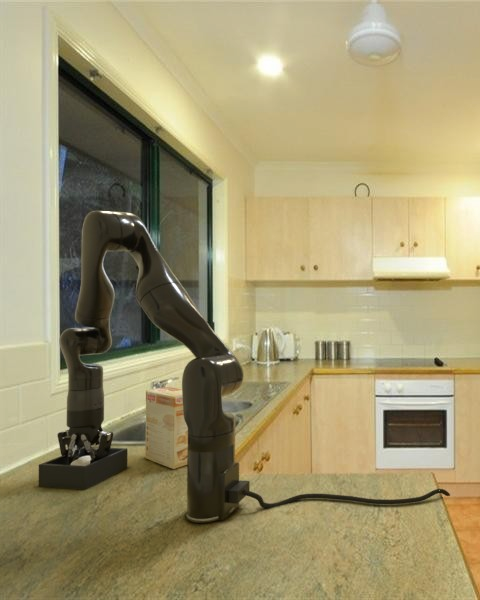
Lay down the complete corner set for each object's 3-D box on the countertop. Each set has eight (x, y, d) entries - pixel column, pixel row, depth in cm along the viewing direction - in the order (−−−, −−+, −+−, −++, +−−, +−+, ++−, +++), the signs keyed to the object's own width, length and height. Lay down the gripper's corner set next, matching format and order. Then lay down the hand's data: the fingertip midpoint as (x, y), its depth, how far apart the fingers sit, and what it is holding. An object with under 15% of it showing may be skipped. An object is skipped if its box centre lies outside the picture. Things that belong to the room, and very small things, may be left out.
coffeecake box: (198, 461, 112) (199, 391, 113) (172, 470, 106) (173, 396, 107) (169, 450, 120) (170, 385, 121) (144, 458, 114) (144, 390, 115)
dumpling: (90, 468, 106) (95, 453, 107) (102, 475, 104) (107, 460, 105) (60, 474, 100) (66, 457, 100) (73, 481, 98) (78, 465, 98)
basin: (127, 468, 108) (127, 448, 108) (85, 489, 95) (85, 467, 95) (85, 465, 109) (85, 446, 109) (38, 486, 97) (38, 464, 97)
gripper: (46, 408, 100) (45, 477, 99) (98, 410, 98) (97, 480, 98) (74, 401, 107) (73, 465, 107) (123, 403, 105) (122, 468, 105)
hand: (85, 472), depth 102 cm, fingers closed on dumpling, 5 cm apart
